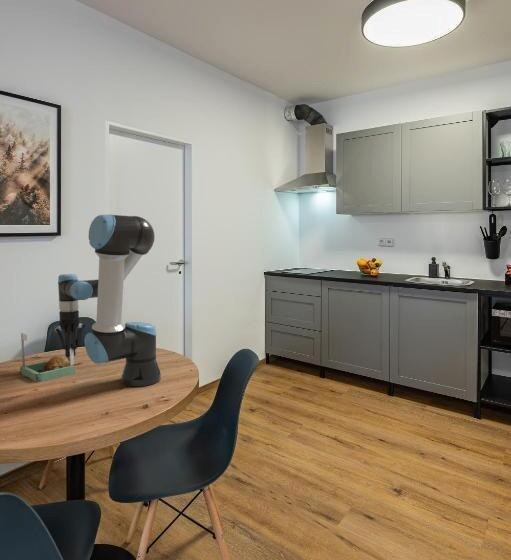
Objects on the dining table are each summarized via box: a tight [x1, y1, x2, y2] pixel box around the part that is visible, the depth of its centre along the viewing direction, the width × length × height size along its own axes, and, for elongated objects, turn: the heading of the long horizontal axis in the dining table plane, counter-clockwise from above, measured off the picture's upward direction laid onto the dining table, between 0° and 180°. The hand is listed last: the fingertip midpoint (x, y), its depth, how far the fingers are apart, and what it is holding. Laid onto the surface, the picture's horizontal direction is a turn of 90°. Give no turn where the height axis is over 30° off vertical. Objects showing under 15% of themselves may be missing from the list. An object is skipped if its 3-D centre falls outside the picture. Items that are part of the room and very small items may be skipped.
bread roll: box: [44, 355, 72, 372], centre depth 176 cm, size 10×10×8 cm
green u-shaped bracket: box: [19, 332, 76, 383], centre depth 172 cm, size 16×15×17 cm
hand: (70, 363), depth 180 cm, fingers closed
